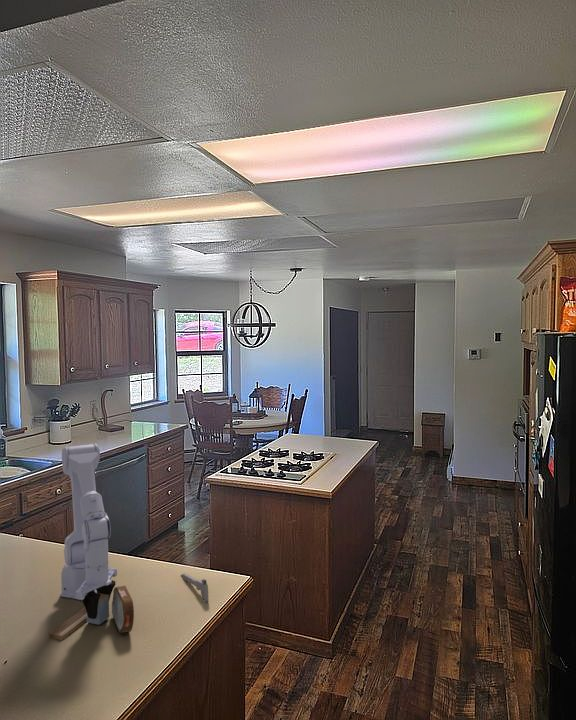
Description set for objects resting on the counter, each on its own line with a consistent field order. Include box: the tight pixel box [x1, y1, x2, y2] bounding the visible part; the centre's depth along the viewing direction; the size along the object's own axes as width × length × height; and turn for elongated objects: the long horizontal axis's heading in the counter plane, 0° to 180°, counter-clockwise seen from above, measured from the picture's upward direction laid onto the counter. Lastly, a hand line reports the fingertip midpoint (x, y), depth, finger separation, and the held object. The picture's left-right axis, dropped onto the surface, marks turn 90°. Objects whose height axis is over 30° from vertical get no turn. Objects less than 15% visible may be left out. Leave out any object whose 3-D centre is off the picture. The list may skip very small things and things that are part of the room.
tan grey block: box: [86, 593, 110, 625], centre depth 138 cm, size 4×4×6 cm
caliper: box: [180, 572, 209, 603], centre depth 157 cm, size 20×1×6 cm, turn 31°
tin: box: [111, 585, 135, 634], centre depth 137 cm, size 15×3×8 cm, turn 29°
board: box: [48, 606, 87, 641], centre depth 137 cm, size 4×14×1 cm, turn 163°
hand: (97, 613), depth 139 cm, fingers closed on tan grey block, 4 cm apart
